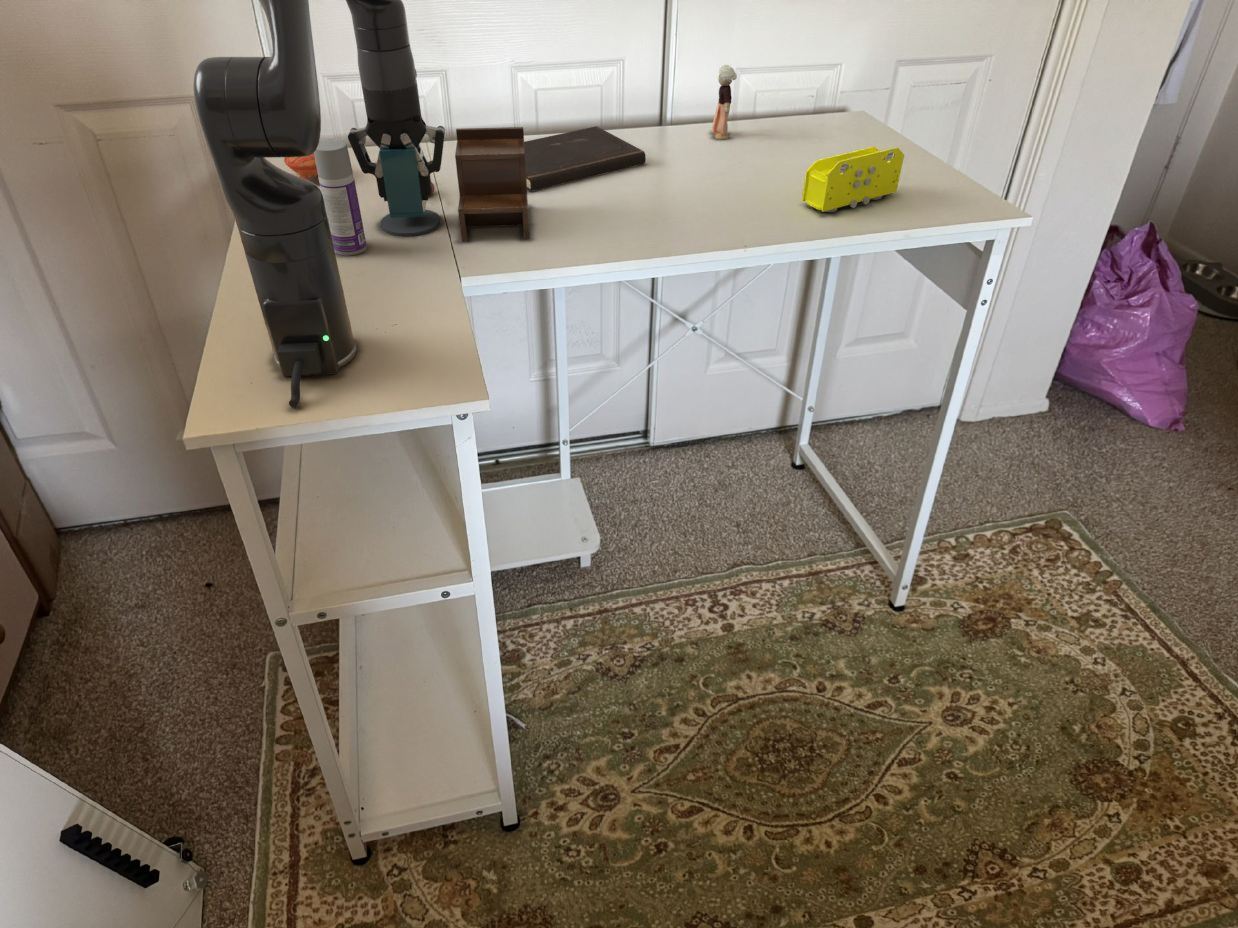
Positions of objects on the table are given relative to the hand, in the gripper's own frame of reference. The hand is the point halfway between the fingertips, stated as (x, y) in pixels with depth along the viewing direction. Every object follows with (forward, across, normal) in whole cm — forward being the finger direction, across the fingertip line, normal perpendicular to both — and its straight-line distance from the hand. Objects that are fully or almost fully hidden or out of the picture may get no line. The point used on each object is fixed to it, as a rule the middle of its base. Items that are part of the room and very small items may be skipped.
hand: (406, 198), depth 130 cm
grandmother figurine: (+4, +55, +35) cm, 65 cm away
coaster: (+4, 0, 0) cm, 4 cm away
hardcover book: (+4, +25, +23) cm, 34 cm away
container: (+4, -8, -8) cm, 12 cm away
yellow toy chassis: (+4, +70, +3) cm, 70 cm away
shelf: (+4, +13, -1) cm, 14 cm away
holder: (+2, 0, 0) cm, 2 cm away
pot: (+4, -18, +20) cm, 27 cm away
